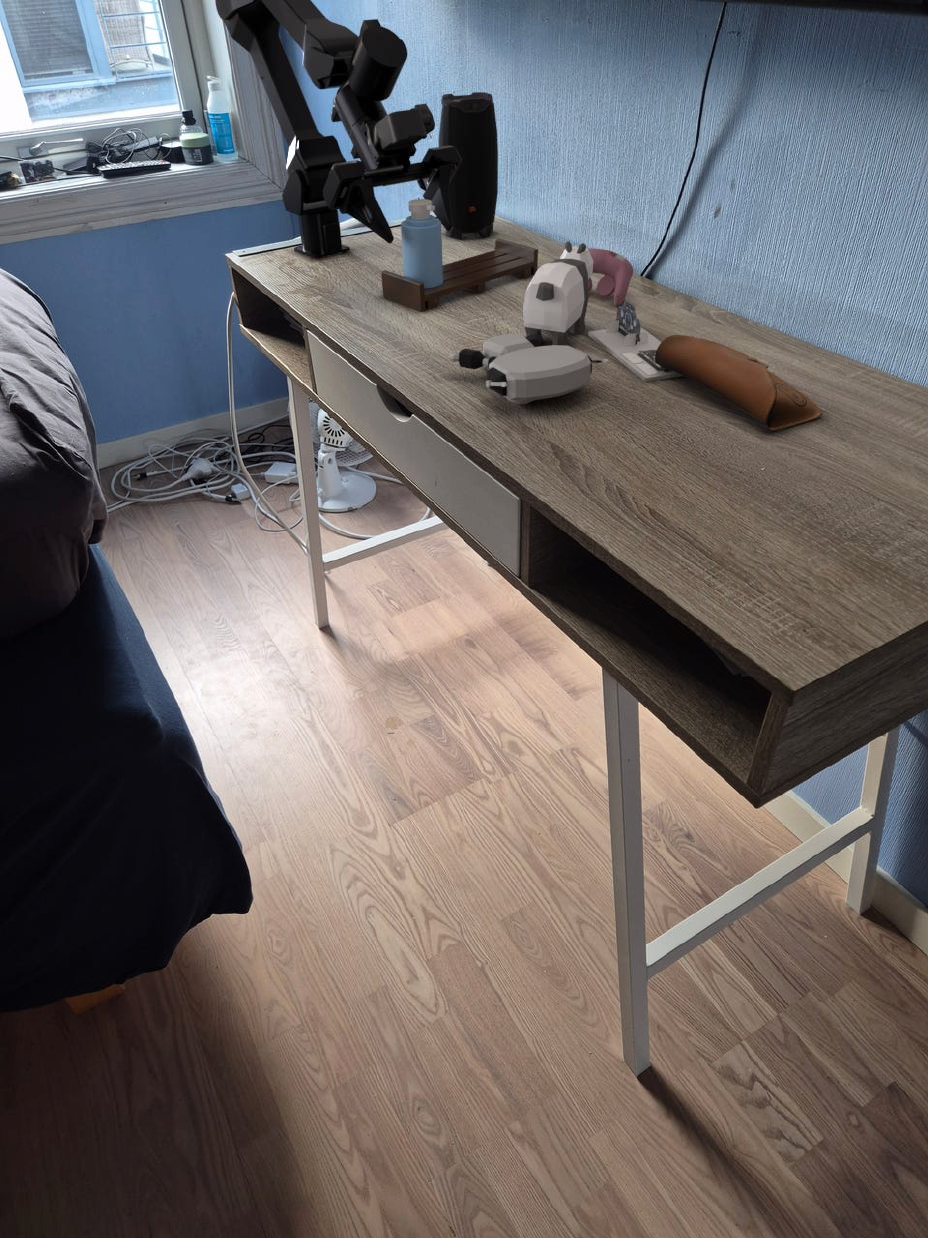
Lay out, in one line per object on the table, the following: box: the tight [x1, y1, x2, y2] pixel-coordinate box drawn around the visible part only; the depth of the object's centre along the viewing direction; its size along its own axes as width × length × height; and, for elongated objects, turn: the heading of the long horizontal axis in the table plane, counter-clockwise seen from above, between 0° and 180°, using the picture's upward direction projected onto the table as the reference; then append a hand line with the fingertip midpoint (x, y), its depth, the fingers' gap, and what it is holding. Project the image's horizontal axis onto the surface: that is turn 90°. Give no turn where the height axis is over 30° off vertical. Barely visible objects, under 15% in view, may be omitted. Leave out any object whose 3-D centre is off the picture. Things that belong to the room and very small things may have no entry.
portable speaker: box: [438, 91, 499, 239], centre depth 136 cm, size 9×9×20 cm
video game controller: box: [587, 247, 634, 307], centre depth 115 cm, size 10×5×7 cm, turn 65°
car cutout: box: [587, 300, 684, 383], centre depth 100 cm, size 15×7×4 cm, turn 18°
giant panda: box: [522, 241, 594, 346], centre depth 104 cm, size 15×6×10 cm, turn 155°
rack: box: [380, 238, 539, 312], centre depth 120 cm, size 8×22×4 cm, turn 133°
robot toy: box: [448, 333, 609, 405], centre depth 93 cm, size 12×4×15 cm
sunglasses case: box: [655, 334, 823, 432], centre depth 90 cm, size 18×7×7 cm, turn 27°
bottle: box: [400, 198, 444, 289], centre depth 113 cm, size 5×5×10 cm
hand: (421, 234), depth 113 cm, fingers open, 9 cm apart
